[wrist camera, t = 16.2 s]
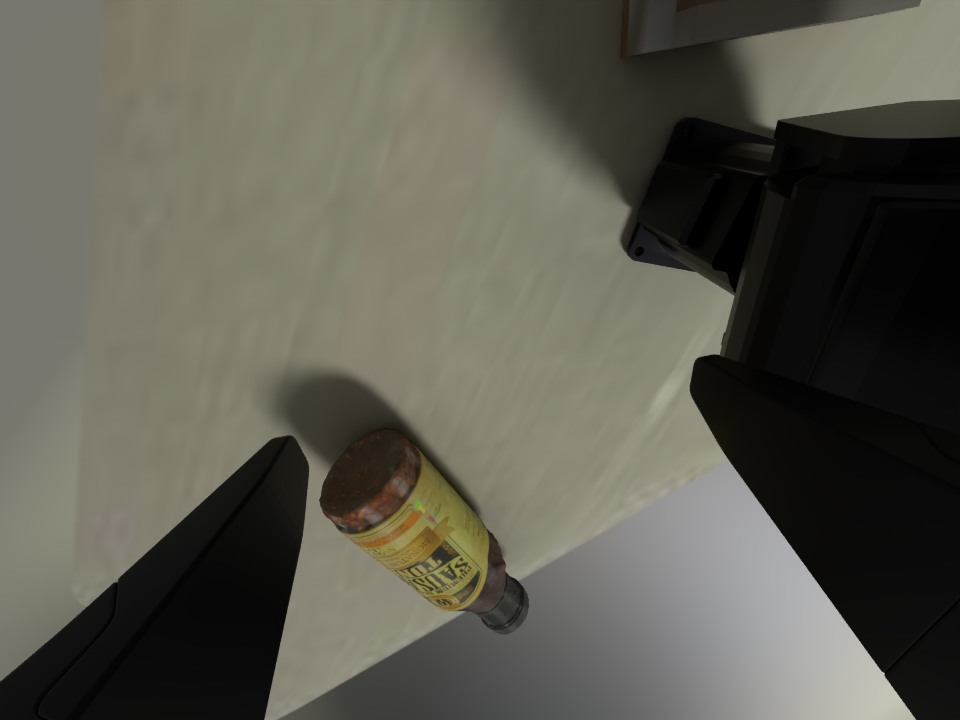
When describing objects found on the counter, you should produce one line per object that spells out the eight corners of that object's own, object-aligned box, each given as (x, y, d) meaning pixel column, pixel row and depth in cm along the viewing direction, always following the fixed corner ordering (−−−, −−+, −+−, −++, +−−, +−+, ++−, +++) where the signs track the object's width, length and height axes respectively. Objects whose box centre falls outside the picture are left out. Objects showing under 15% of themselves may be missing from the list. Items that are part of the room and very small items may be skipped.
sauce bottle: (383, 503, 20) (552, 649, 29) (412, 410, 24) (548, 563, 34) (289, 529, 22) (474, 656, 32) (333, 440, 27) (481, 574, 37)
